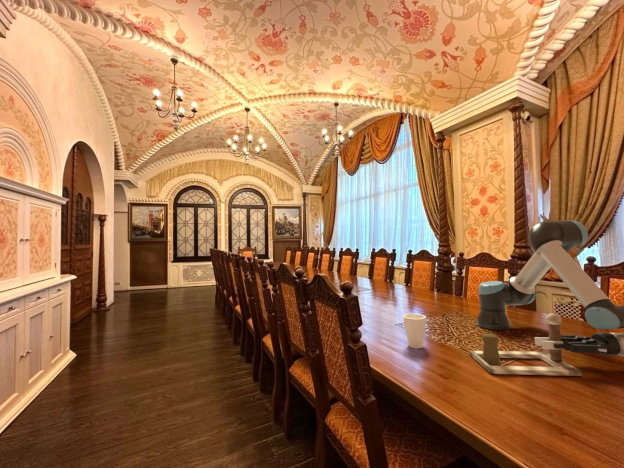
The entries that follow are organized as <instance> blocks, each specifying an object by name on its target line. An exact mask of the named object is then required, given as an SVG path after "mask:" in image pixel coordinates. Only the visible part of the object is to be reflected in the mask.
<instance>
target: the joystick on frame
mask: <svg viewBox="0 0 624 468" xmlns="http://www.w3.org/2000/svg"><path fill="white" fill-rule="evenodd" d="M545 321H546V323H547V324H548V325H547V326H548V337H549V341H561V336H560V335H561V324H562V322H563V321H562V317H561V316H560V315H559V314H557V313H553V312H552V313H551V312H550V313H548V314H547V315H546V316H545ZM498 352H499V357H500V359H540V360H542V361H544V362H545V363H547V364H548V365H550V366H531V365H529V366H528V365H527V366H523V365H522V366H521V365H501V366H490V365H489V364H488V363H486V362H485V361H484V360H483V350H469V355H470V357H472V358H473V359H474V360H475V361H476V363H477V362H478V363H479V364H480V366H482V367H483V369H485V370H486V371H487V372H489V374H491V375H493V374H494V375H526V376H527V375H531V376H534V375H535V376H567V377H568V376H572V377H573V376H574V377H575V376H576V377H582V376H583V371H582V370H580V369H578V368H576V367H575V366H572V365H571V364H569V363H567V362H565V361H563V353H562V349H549V352H548V351H526V350H525V351H524V350H523V351H519V350H517V351H516V350H515V351H514V350H512V351H510V350H498Z"/></svg>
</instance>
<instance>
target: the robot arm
mask: <svg viewBox="0 0 624 468" xmlns="http://www.w3.org/2000/svg"><path fill="white" fill-rule="evenodd" d="M527 238H528V242H529V245H530V247H531V248H532V250H533V251H534V253H533V254H532V256H531V257H530V258H529V259H528V261H527V262H526V264H525V265H524V266H523V267H522V269H521V270H520V272H519V273H517V275H516V276H512V277H511V278H509V280H508V281H507V283H504V282H503V281H499V280H491V281H483V282H481V283H480V284H478V297H479V298H478V299H479V313H478V317H477V319H476V325H477V326H478V327H479V328H482V327H483V329H486V328H487V330H494V331H508V330H510V329H511V328H512V326H511V322H510V319H509V317H508V315H507V311H506V310H507V309H506V307H507V306H524V305H528V304H532V302H534V300H535V299H536V288H535V286H536V285H537V284H538V283H539V282H540V280H541V279H543V277H544V276H545V274H546V273H547V272H548V271H549V270H551V268H552V270H553V271H554V272H555V273H556V275H557V276H558V277H559V278H560V279H561V281H562V282H563V283H564V284H565V285H566V287H567V288H568V289H569V290H570V292H571V293H572V294H573V295H574V297H575V298H577V300H578V302H580V304H581V305H582V306H583V308H584V309H585V310H586V311H585V312H584V317H585V321H586V322H587V324H589V325H590V326H591V327H593V328H594V329H597V330H607V331H612V330H613V331H614V330H620V329H624V303H623V305H615V303H614V302H613V301H612V300H611V299H610V297H608V295H606V294H605V292H604V291H603V290H602V289H601V288H600V287H599V286H598V285H597V284H596V283H595V281H594V280H593V279H592V278H591V277H590V275H588V274H587V272H586V271H585V270H583V268H582V267H581V266H580V265H579V264H578V263H577V262H576V261H575V260H574V258H573V257H572V256H571V255H570V254H569V253H570V252H571V251H572V249H573V248H578V247H581V246H583V245H585V244H586V242H587V241H588V238H589V234H588V230H587V227H586V226H585V225H584V224H583V223H581V222H579V221H577V220H569V219H566V220H543V221H540V222H537V223H536V224H534V225H533V226H532V227H530V230H529V231H528V237H527ZM560 336H561V341H549V336H548V337H545V336H544V337H540V336H539V337H538V336H535V337H534V345H535V346H541V348H542V349H543V350H550V349H561V351H562V350H565V351H570V352H571V353H577V354H578V353H581V354H582V353H583V354H600V355H602V356H620V357H621V358H622V357H623V358H624V332H595V333H593V334H592V335H591V336H587V335H586V336H579V334H576V333H574V334H560Z"/></svg>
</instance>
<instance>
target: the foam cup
mask: <svg viewBox="0 0 624 468" xmlns="http://www.w3.org/2000/svg"><path fill="white" fill-rule="evenodd" d="M403 323H404V328H405V333H406V339H407V345H408V346H409V348H413V349H422V348H424V345H425V336H426V335H425V332H426V324H427V317H426V316H425V315H423V314H418V313H407V314H406V313H405V314H404V315H403Z"/></svg>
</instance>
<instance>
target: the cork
mask: <svg viewBox="0 0 624 468" xmlns="http://www.w3.org/2000/svg"><path fill="white" fill-rule="evenodd" d="M481 340H482V342H483V349H482V351H483V358H482V359H483V360H484V361H485V362H486V363H488V364H489V365H490V366H502V362H501V358H500V357H499V352H498V351H499V347H498V344H499V338H498V336H497V335H495V334H493V333H484V334H483V335H482V337H481Z"/></svg>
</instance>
